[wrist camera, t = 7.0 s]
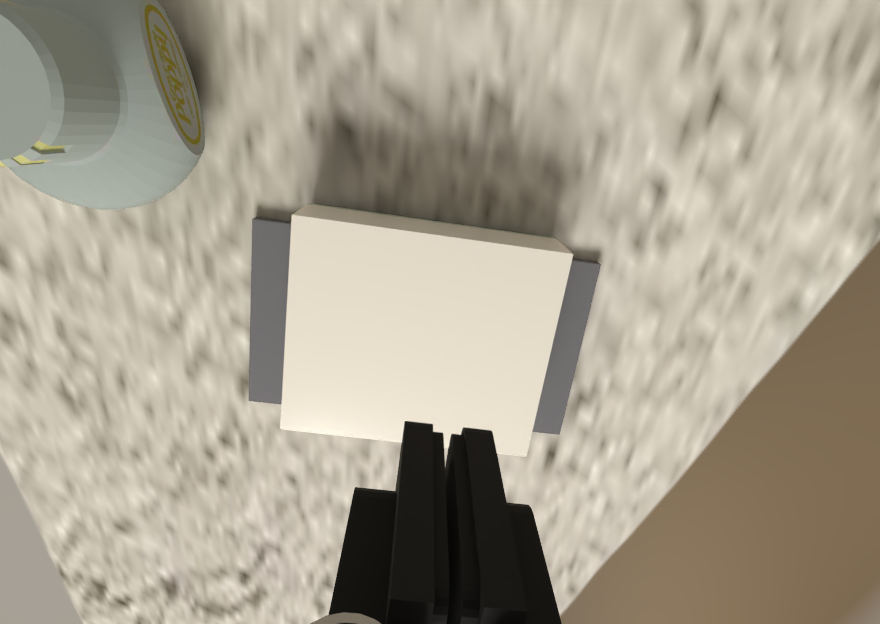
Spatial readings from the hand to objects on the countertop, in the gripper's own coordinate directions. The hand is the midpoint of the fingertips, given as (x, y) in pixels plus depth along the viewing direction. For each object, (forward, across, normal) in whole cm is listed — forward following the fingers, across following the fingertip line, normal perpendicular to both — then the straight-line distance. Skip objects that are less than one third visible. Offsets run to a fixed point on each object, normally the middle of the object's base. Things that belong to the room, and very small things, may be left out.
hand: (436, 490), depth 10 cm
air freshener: (+22, +17, -6) cm, 29 cm away
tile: (+20, 0, -1) cm, 20 cm away
